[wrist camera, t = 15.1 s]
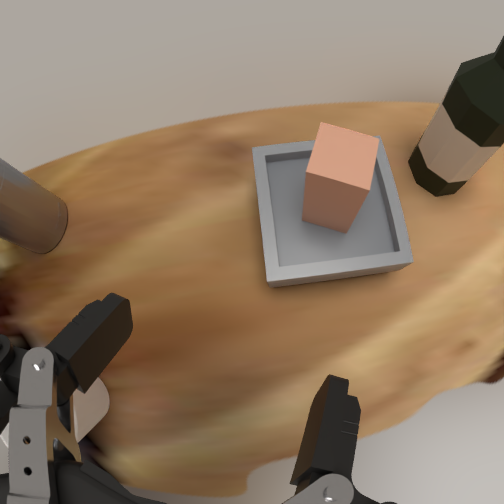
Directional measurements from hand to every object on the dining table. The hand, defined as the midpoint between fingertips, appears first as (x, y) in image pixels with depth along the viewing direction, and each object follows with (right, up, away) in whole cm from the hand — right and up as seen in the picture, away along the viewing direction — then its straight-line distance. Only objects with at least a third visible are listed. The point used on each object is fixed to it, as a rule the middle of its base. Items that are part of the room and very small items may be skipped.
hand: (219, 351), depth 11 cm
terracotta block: (+9, +8, +20) cm, 23 cm away
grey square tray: (+10, +7, +25) cm, 28 cm away
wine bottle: (+26, +15, +25) cm, 39 cm away
